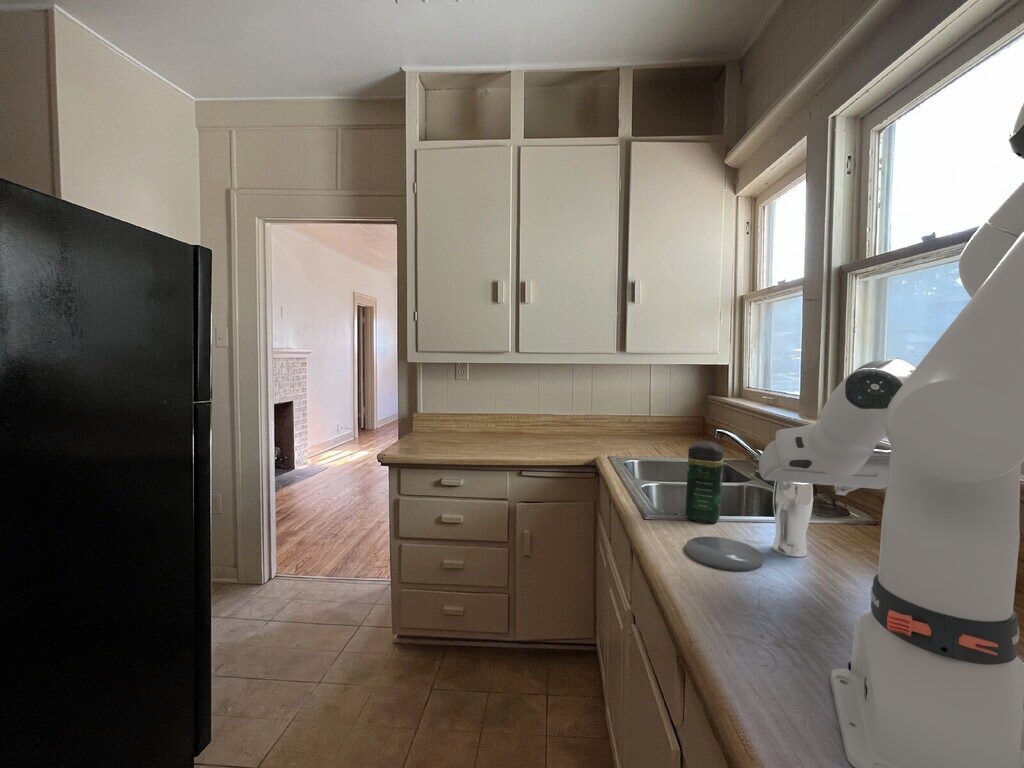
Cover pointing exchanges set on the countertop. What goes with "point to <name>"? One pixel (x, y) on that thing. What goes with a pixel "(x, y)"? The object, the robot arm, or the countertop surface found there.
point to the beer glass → (792, 518)
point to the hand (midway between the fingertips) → (810, 489)
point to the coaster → (724, 553)
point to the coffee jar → (704, 481)
